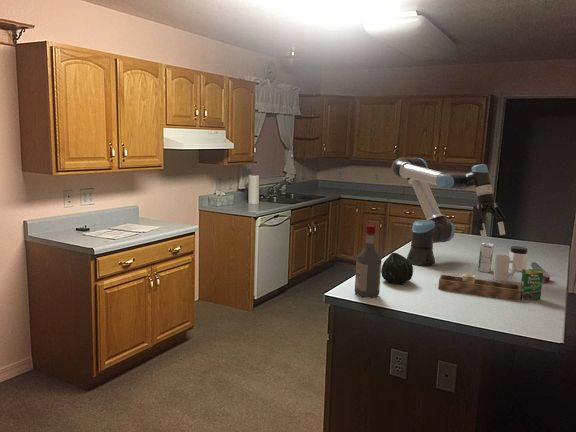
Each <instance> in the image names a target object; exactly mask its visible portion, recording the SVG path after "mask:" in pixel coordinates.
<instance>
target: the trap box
mask: <svg viewBox="0 0 576 432" xmlns="http://www.w3.org/2000/svg"><path fill="white" fill-rule="evenodd" d="M462 280H463V276H454V275H449V274H442V273H441V274H440V276H439V279H438V288H437V289H438V290H441V289H444V290H443V291H448V290H450V292H455V291H457V293H462V292H464V293H463V294H469V293H470V295H476V294H477V296H483V297H489V296H491V298H496V297H497V299H504V300H509V301H510V300H511V301H517V302H518V301H519V302H521V298H520V296H521V284H516V283H508V282H507V283H506V282H502V281H495V280H492V281H491V280H485V279H478V278H475V281H474V284H472V283H464V282H462Z"/></svg>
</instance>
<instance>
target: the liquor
mask: <svg viewBox="0 0 576 432" xmlns="http://www.w3.org/2000/svg"><path fill="white" fill-rule="evenodd" d="M365 235H366V238H365V245H364V248H363V249H362V250H361V251H360V252H359V253H358V254H357V255H356V259H355V260H356V263H355V278H354V279H355V280H354V293H355V294H356V295H357V294H358V295H357V296H358V297H360V296H362V297H361V298H364V297H372V298H377V297H378V296H379V295H380V289H381V277H382V274H381V269H382V257H381V255H380V254H379V252H378V251H377V250H376V247H375V237H376V236H375V235H376V225H374V224H373V225H372V224H368V225H366V234H365ZM376 296H377V297H376Z"/></svg>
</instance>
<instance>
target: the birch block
mask: <svg viewBox="0 0 576 432" xmlns="http://www.w3.org/2000/svg"><path fill="white" fill-rule="evenodd" d="M462 277H463V280H462V282H464V283H472V284H474V281H475V279H476V274H471V273H465V272H464V273H463V274H462Z"/></svg>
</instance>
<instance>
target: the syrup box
mask: <svg viewBox="0 0 576 432" xmlns="http://www.w3.org/2000/svg"><path fill="white" fill-rule="evenodd" d="M494 246H495V244H493V243H489V242H482V243H481V244H480V250H479V256H478V257H479V258H478V265H477V272H483V273H490V272H491V271H492V266H493V265H492V262H493V255H494Z"/></svg>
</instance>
